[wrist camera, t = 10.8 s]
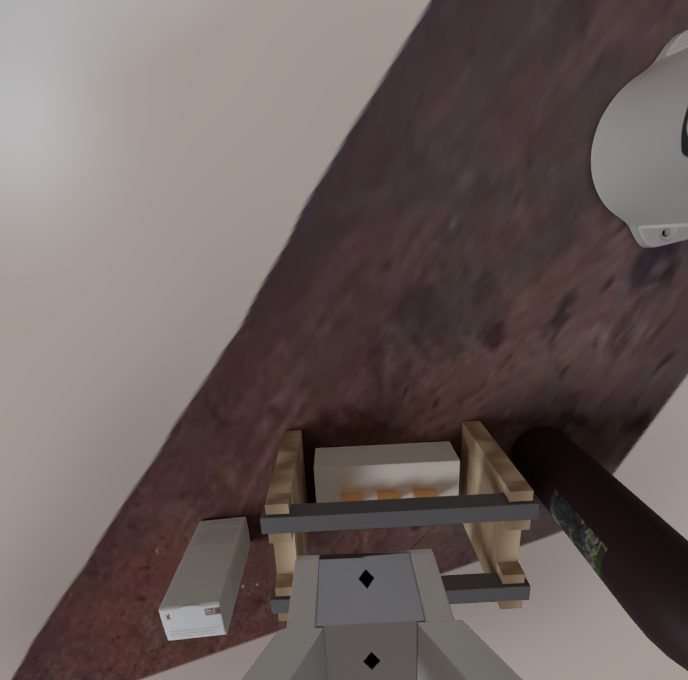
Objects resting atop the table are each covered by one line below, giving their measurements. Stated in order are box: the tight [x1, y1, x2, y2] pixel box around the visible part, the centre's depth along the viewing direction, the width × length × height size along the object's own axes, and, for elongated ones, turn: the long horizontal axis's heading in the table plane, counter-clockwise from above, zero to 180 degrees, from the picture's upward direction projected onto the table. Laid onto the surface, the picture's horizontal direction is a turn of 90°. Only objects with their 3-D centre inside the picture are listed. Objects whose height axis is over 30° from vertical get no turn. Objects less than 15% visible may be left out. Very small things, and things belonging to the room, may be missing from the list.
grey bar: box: [270, 573, 530, 614], centre depth 36 cm, size 24×2×2 cm, turn 93°
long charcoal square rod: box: [260, 493, 539, 534], centre depth 33 cm, size 24×2×2 cm, turn 93°
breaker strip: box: [314, 441, 460, 503], centre depth 44 cm, size 16×8×4 cm, turn 93°
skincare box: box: [159, 517, 251, 641], centre depth 42 cm, size 6×4×12 cm
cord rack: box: [265, 421, 534, 621], centre depth 40 cm, size 23×13×13 cm, turn 93°
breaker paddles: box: [341, 489, 438, 502], centre depth 40 cm, size 10×1×3 cm, turn 93°
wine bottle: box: [512, 427, 688, 671], centre depth 31 cm, size 7×7×30 cm
